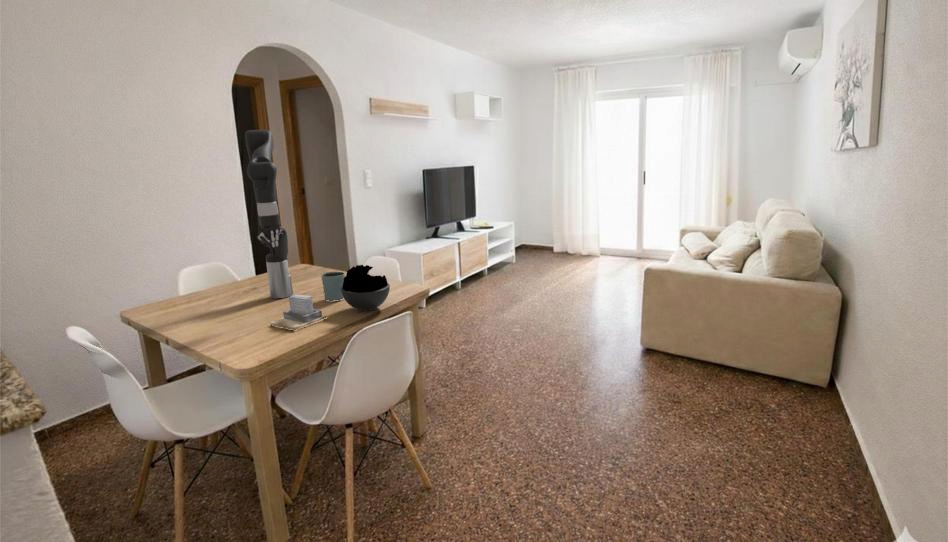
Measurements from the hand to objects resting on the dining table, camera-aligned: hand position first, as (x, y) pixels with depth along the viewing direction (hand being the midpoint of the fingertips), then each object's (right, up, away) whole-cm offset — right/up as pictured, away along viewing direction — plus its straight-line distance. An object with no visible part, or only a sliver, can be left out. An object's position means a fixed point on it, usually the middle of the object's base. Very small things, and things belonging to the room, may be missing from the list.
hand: (274, 255), depth 201 cm
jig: (+12, -27, -6) cm, 30 cm away
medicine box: (+13, -25, -4) cm, 28 cm away
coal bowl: (+36, -23, +9) cm, 43 cm away
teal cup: (+18, -19, +25) cm, 36 cm away
